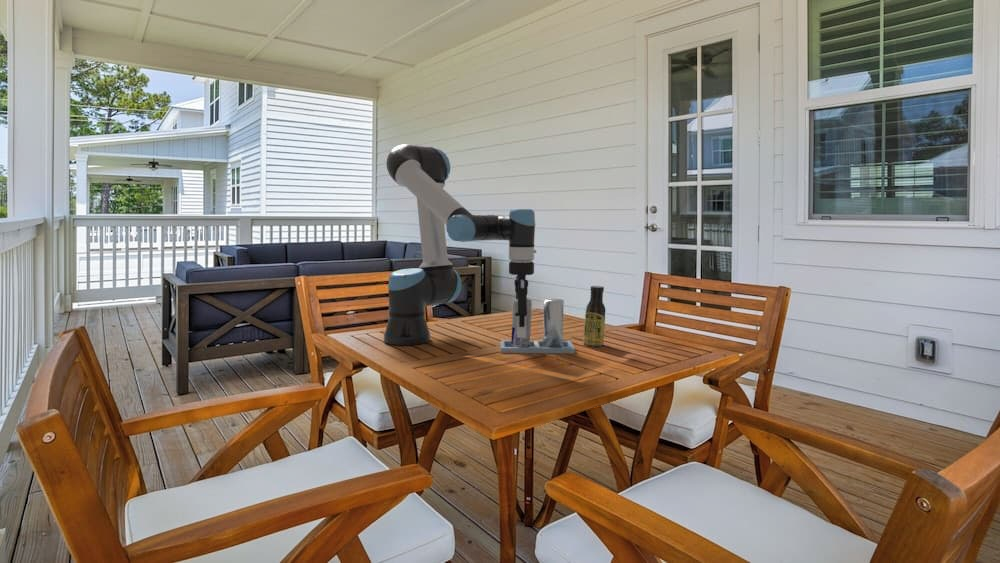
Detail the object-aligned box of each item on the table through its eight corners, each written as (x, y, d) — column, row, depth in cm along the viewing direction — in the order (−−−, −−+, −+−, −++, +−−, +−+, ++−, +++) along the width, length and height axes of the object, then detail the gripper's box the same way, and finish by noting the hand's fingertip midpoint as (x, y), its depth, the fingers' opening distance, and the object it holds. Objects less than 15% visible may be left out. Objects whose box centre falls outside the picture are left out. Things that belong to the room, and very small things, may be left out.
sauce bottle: (580, 349, 171) (582, 286, 168) (587, 345, 176) (588, 284, 174) (600, 352, 168) (602, 288, 165) (606, 347, 173) (608, 285, 171)
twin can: (539, 349, 165) (539, 300, 164) (550, 345, 170) (550, 298, 168) (555, 352, 162) (556, 302, 160) (566, 348, 166) (567, 300, 165)
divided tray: (500, 356, 161) (500, 348, 161) (500, 348, 171) (500, 340, 170) (574, 357, 161) (575, 348, 161) (570, 348, 171) (570, 340, 171)
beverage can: (533, 348, 166) (535, 300, 164) (522, 352, 162) (524, 302, 160) (518, 345, 170) (520, 297, 167) (507, 348, 165) (509, 299, 163)
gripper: (537, 264, 151) (535, 342, 153) (531, 258, 174) (530, 325, 177) (510, 264, 151) (509, 341, 153) (508, 257, 174) (507, 324, 177)
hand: (520, 333), depth 165 cm, fingers open, 11 cm apart
